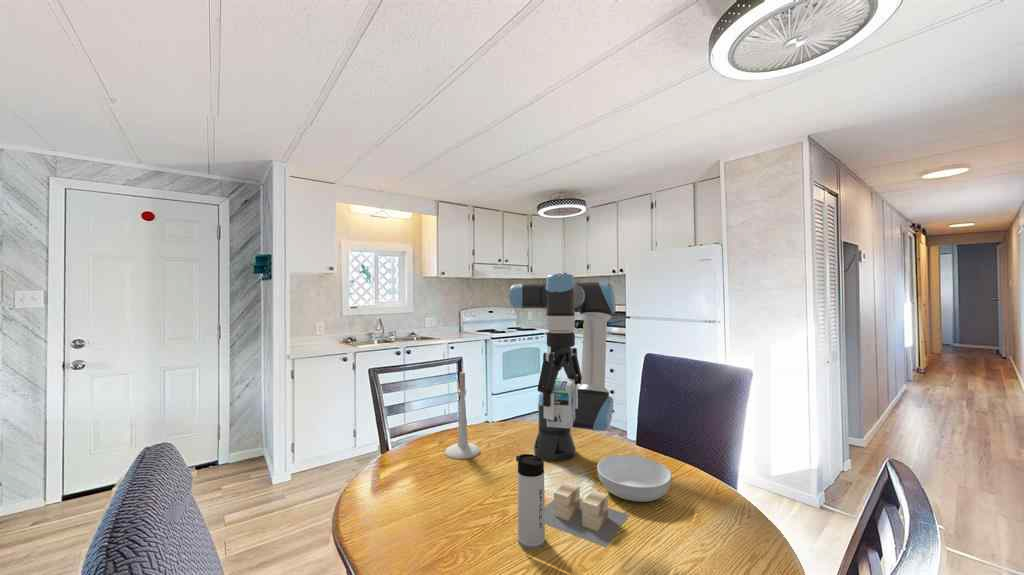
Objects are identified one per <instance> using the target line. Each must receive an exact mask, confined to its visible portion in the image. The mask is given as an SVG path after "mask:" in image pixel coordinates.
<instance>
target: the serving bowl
mask: <svg viewBox="0 0 1024 575" xmlns="http://www.w3.org/2000/svg"><path fill="white" fill-rule="evenodd" d="M596 466H597V467H596V469H597V470H596V471H597V474H598V475H597V476H598V478H599V481H600V482H601V484H602V486H604V488H605V489H606V490H607V491H608V492H609V493H611V494H612V495H613V496H616V497H618V498H620V499H623V500H626V501H630V502H636V503H637V502H640V503H645V502H652V501H655V500H658V499H660V498H662V497H663V496H664V495H666V493H667V492H668V491H669V489H670V487H671V482H672V472H671V471H670V469H669V468H668V467H667V466H666V465H664V464H663V463H661V462H659V461H658V460H657V461H656V460H655V459H652V458H648V457H646V456H645V457H644V456H641V455H640V456H639V455H633V454H616V455H614V454H613V455H609V456H607V457H604V458H603V459H600V460H599V462H598V463H597V464H596Z"/></svg>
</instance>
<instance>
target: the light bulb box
mask: <svg viewBox="0 0 1024 575" xmlns="http://www.w3.org/2000/svg"><path fill="white" fill-rule="evenodd" d="M552 393H554V420H550V419H547V427H557V428H569V429H570V430H571V429H573V427H572V426H573V423H574V420H575V379H568V377H567V378H566V377H565V378H563V377H557V378H556V381H555V384H554V387H553V390H552Z"/></svg>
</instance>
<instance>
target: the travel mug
mask: <svg viewBox="0 0 1024 575" xmlns="http://www.w3.org/2000/svg"><path fill="white" fill-rule="evenodd" d="M515 456H516V457H515V461H516V462H517V536H518V537H517V543H518V545H519V546H520V547H521V548H523V549H524V550H530V551H531V550H532V551H535V550H539V549H541V548H543V547H544V545H545V543H546V537H545V536H546V533H545V532H546V527H545V526H546V524H545V507H546V506H545V468H544V467H545V462H544V461H545V460H543V459H542V458H541V457H539V456H536V455H535V454H531V453H524V454H523V453H522V454H520V455H515Z"/></svg>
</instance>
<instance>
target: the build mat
mask: <svg viewBox="0 0 1024 575" xmlns="http://www.w3.org/2000/svg"><path fill="white" fill-rule="evenodd" d="M583 500H584V499H581V498H580V509H579V510H578V511H577V512H576V513H575V514H574V515H573V516H572V517H571V518H570V519H569V520H568V521H567V520H565V519H562V518H559V517H556V516H554V499H553V500H551V501H550V502H549V503H548V504H547V505H546V506H545V526H546V525H547V526H549V527H551V528H554V529H557V530H559V531H561V532H565V533H567V534H569V535H573V536H574V537H575V536H576V537H577V538H581V539H583V540H586V541H588V542H590V543H594V544H596V545H599V546H601V547H604V548H607V546H608V545H609V544H610V542H611V541H613V539H614V537H615V535H616V534H617V533H618V531H619V530H620V528H621V527H622V526H623V524H624V523H625V522H626V520H627V519H628V517H629V516H630V514H629V513H626V512H623V511H620V510H616V509H614V508H609V507H608V519H607V520H606V521H605V522H604V524H603V525H602V526H601V527H600V529H599V530H598V531H595V530H592V529H590V528H587V527H584V526H582V501H583Z"/></svg>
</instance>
